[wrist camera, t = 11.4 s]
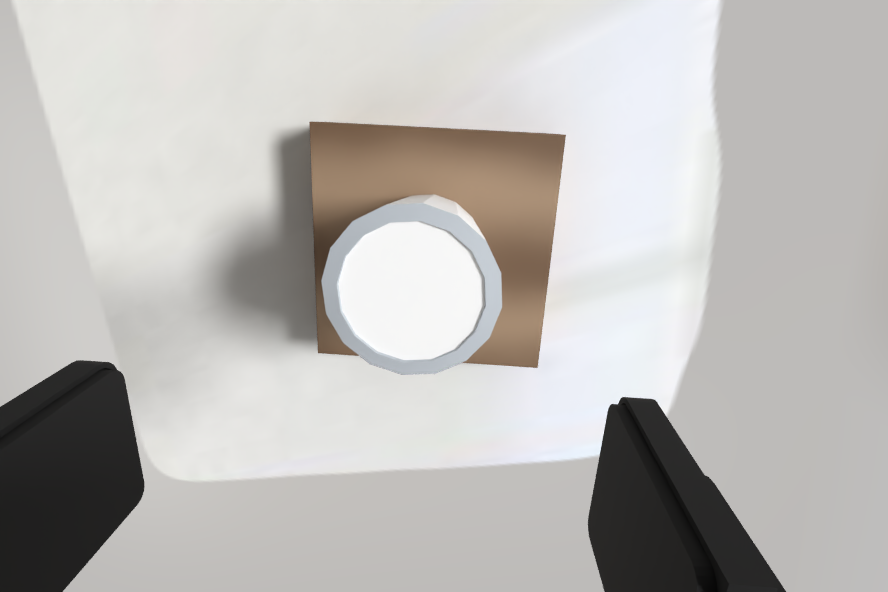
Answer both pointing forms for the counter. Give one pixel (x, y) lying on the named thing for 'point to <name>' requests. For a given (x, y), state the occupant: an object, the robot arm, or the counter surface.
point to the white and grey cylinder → (413, 286)
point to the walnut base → (458, 179)
